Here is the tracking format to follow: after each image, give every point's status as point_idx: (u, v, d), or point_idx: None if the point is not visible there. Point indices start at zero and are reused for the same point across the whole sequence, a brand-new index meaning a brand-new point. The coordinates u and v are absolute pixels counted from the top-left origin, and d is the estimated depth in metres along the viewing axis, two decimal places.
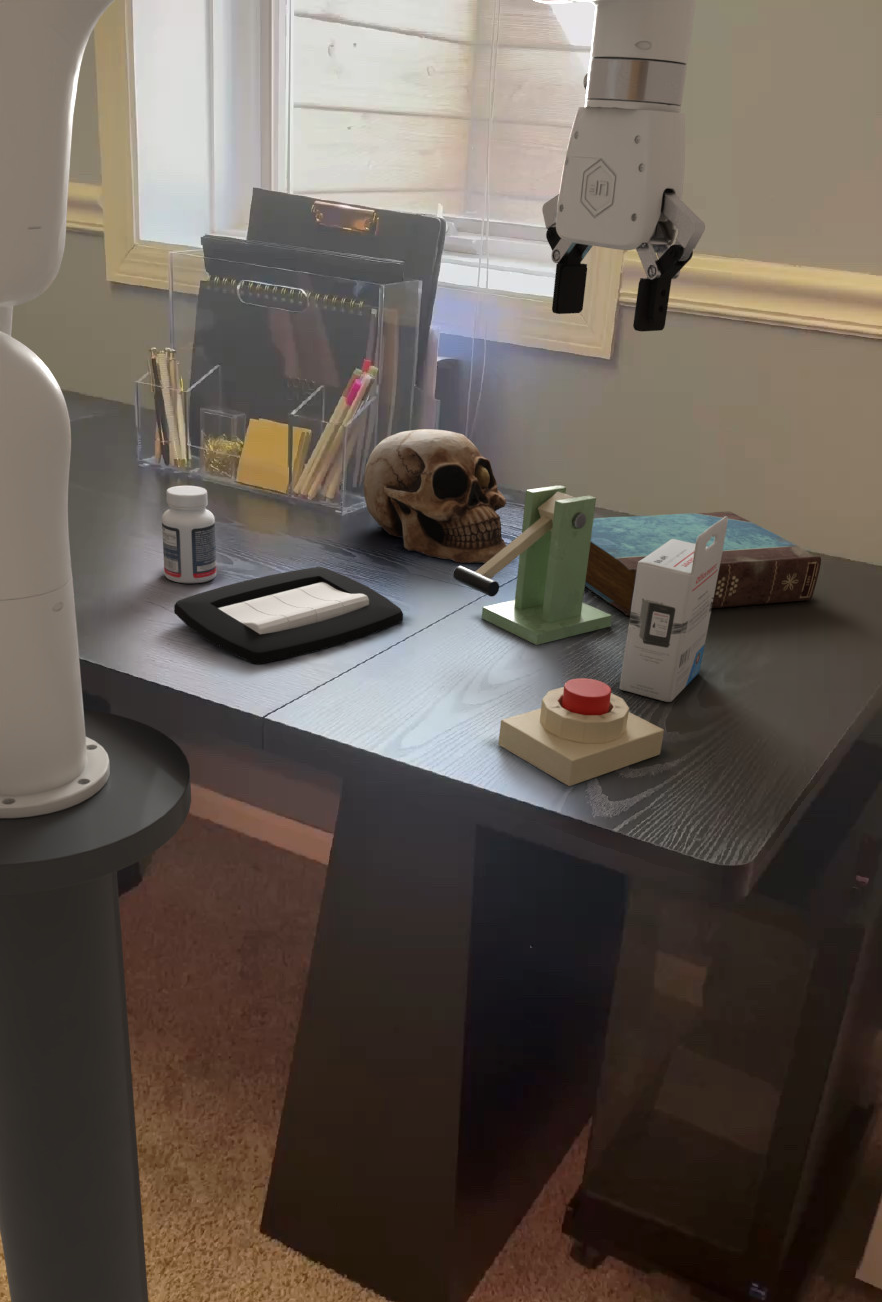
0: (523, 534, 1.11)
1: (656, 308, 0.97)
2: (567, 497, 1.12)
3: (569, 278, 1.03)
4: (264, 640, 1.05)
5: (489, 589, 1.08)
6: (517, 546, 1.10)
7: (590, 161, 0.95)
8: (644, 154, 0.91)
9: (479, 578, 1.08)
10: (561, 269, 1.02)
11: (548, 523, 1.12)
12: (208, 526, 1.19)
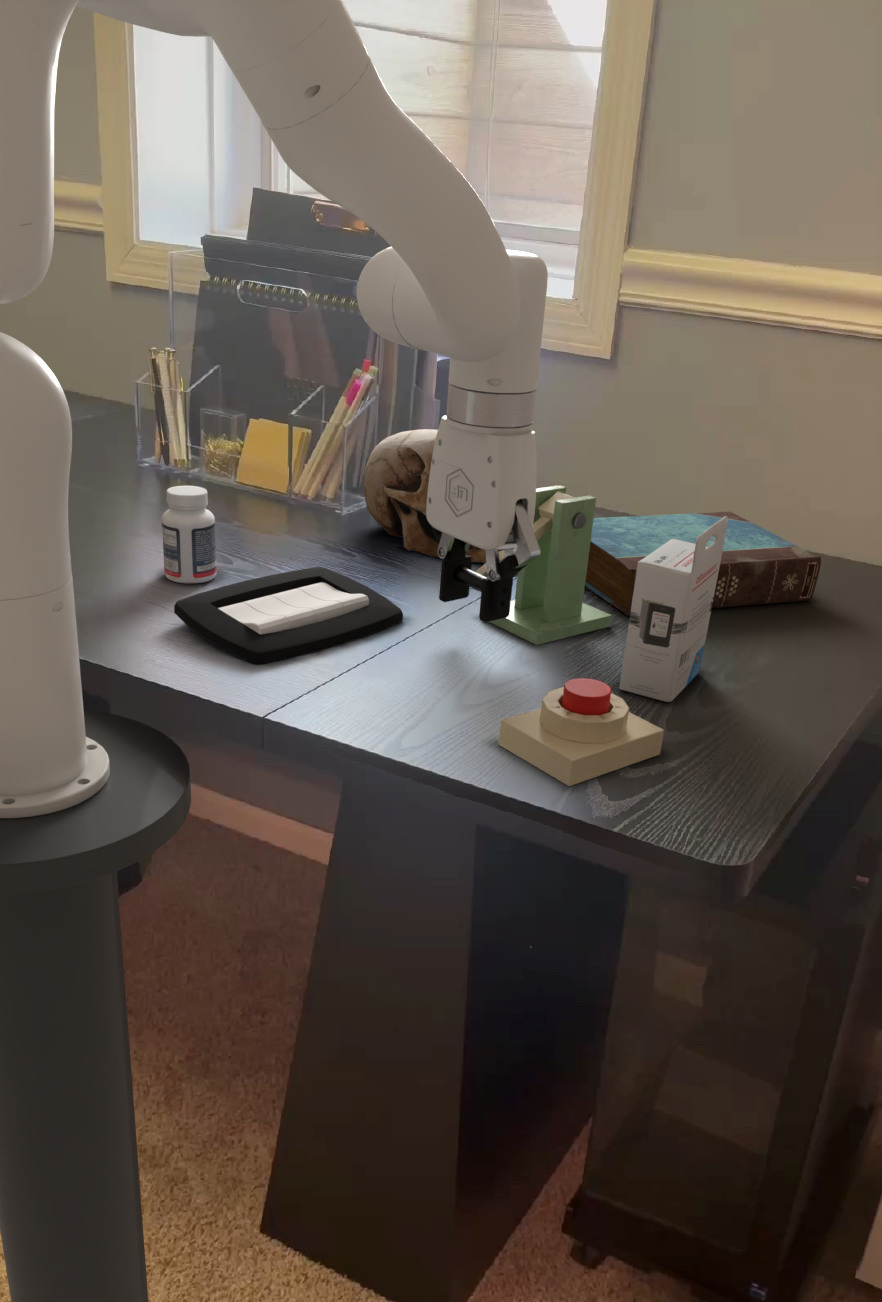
0: None
1: (498, 603, 1.07)
2: (567, 497, 1.12)
3: None
4: (264, 640, 1.05)
5: None
6: (517, 546, 1.10)
7: (452, 468, 1.04)
8: (496, 473, 1.00)
9: (479, 578, 1.08)
10: (445, 565, 1.10)
11: (548, 523, 1.12)
12: (208, 526, 1.19)
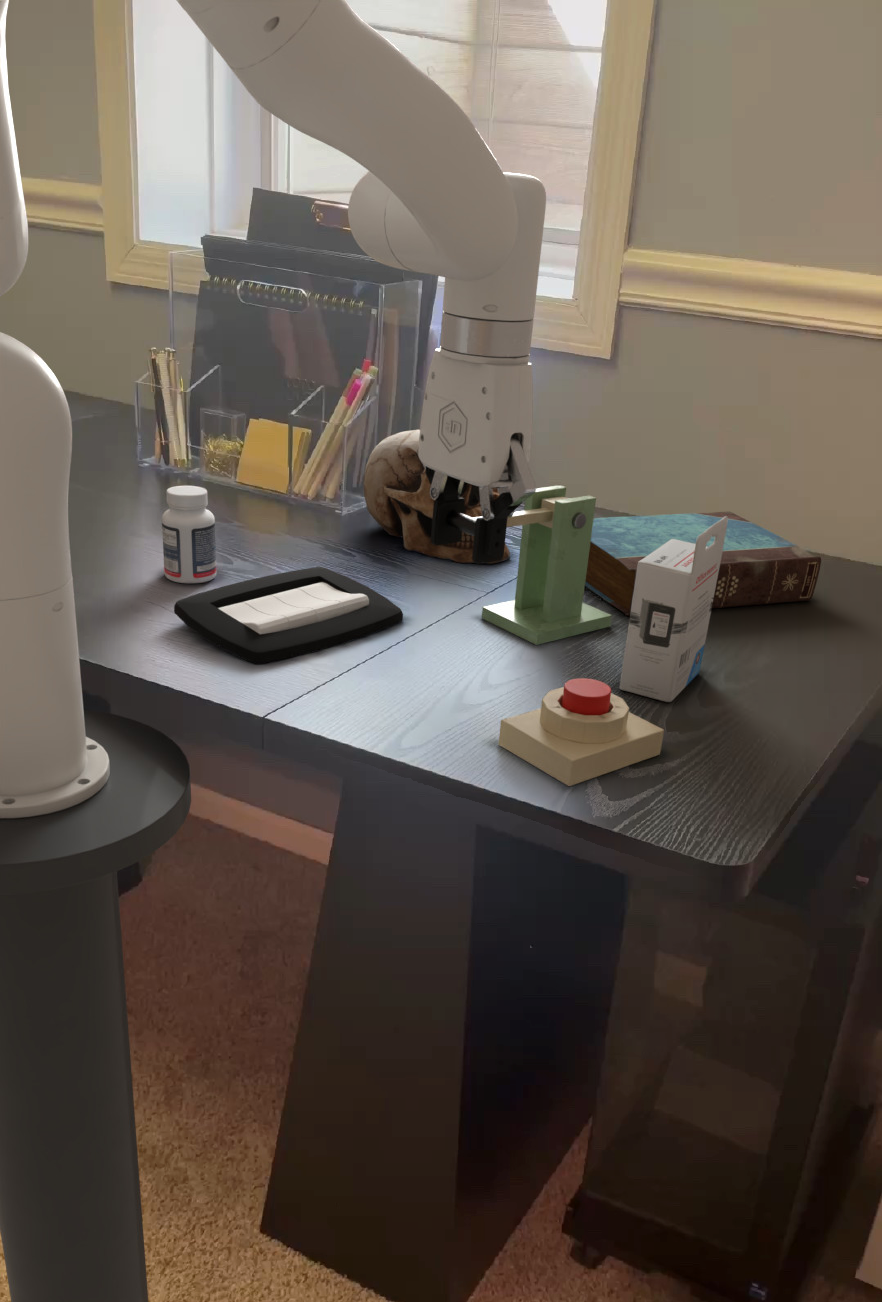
0: (523, 511, 1.10)
1: (492, 544, 1.04)
2: None
3: (446, 513, 1.07)
4: (264, 640, 1.05)
5: None
6: (516, 516, 1.09)
7: (445, 401, 1.00)
8: (491, 405, 0.97)
9: None
10: (438, 506, 1.07)
11: (548, 514, 1.11)
12: (208, 526, 1.19)
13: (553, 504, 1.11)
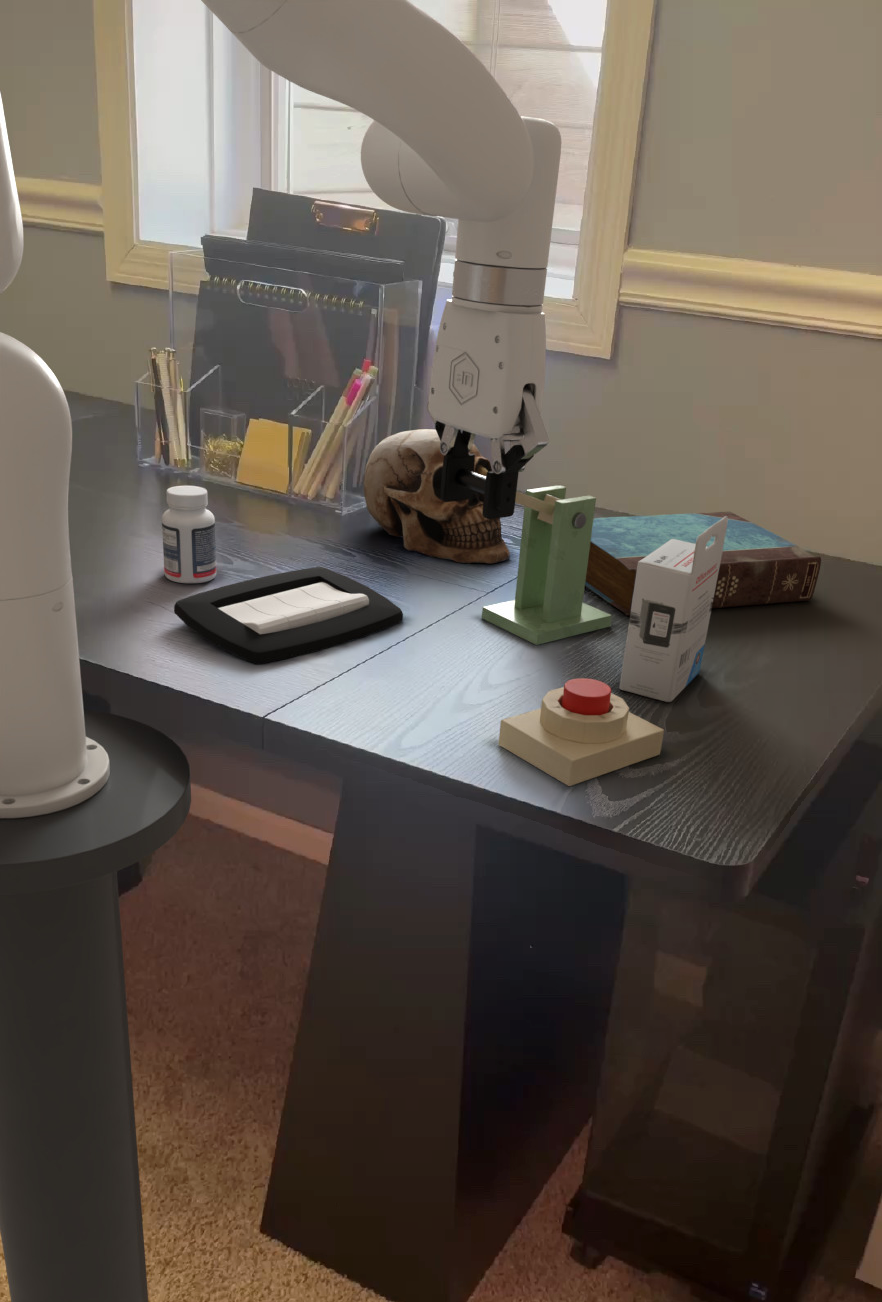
0: None
1: (503, 499, 1.02)
2: None
3: (456, 469, 1.06)
4: (264, 640, 1.05)
5: None
6: (523, 494, 1.08)
7: (456, 352, 0.99)
8: (504, 354, 0.95)
9: None
10: (448, 462, 1.05)
11: (551, 507, 1.11)
12: (208, 526, 1.19)
13: (557, 499, 1.11)
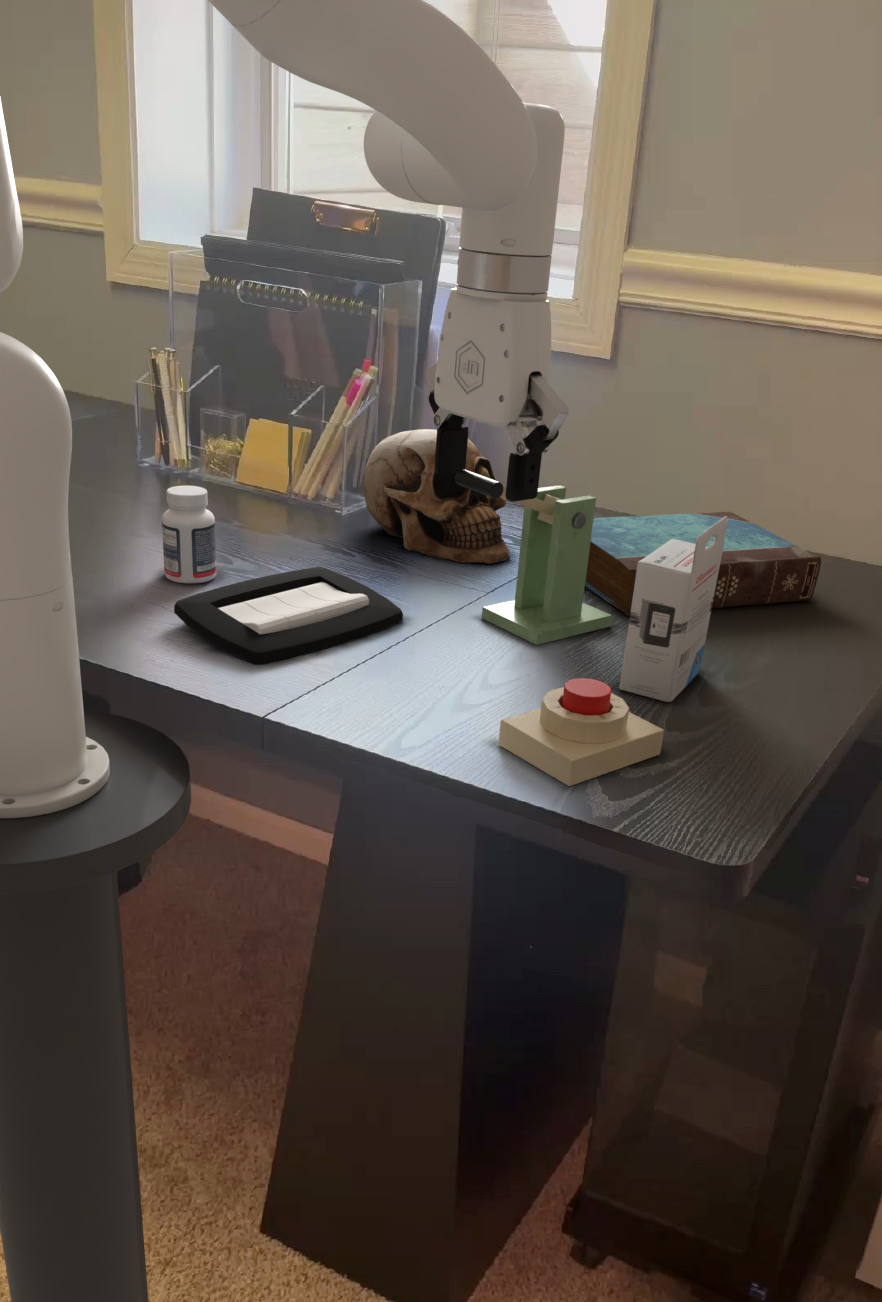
0: None
1: (526, 481, 1.00)
2: None
3: (450, 441, 1.07)
4: (264, 640, 1.05)
5: (495, 486, 1.03)
6: None
7: (462, 341, 0.99)
8: (509, 342, 0.95)
9: (487, 478, 1.04)
10: (441, 434, 1.06)
11: (551, 507, 1.11)
12: (208, 526, 1.19)
13: (557, 499, 1.11)
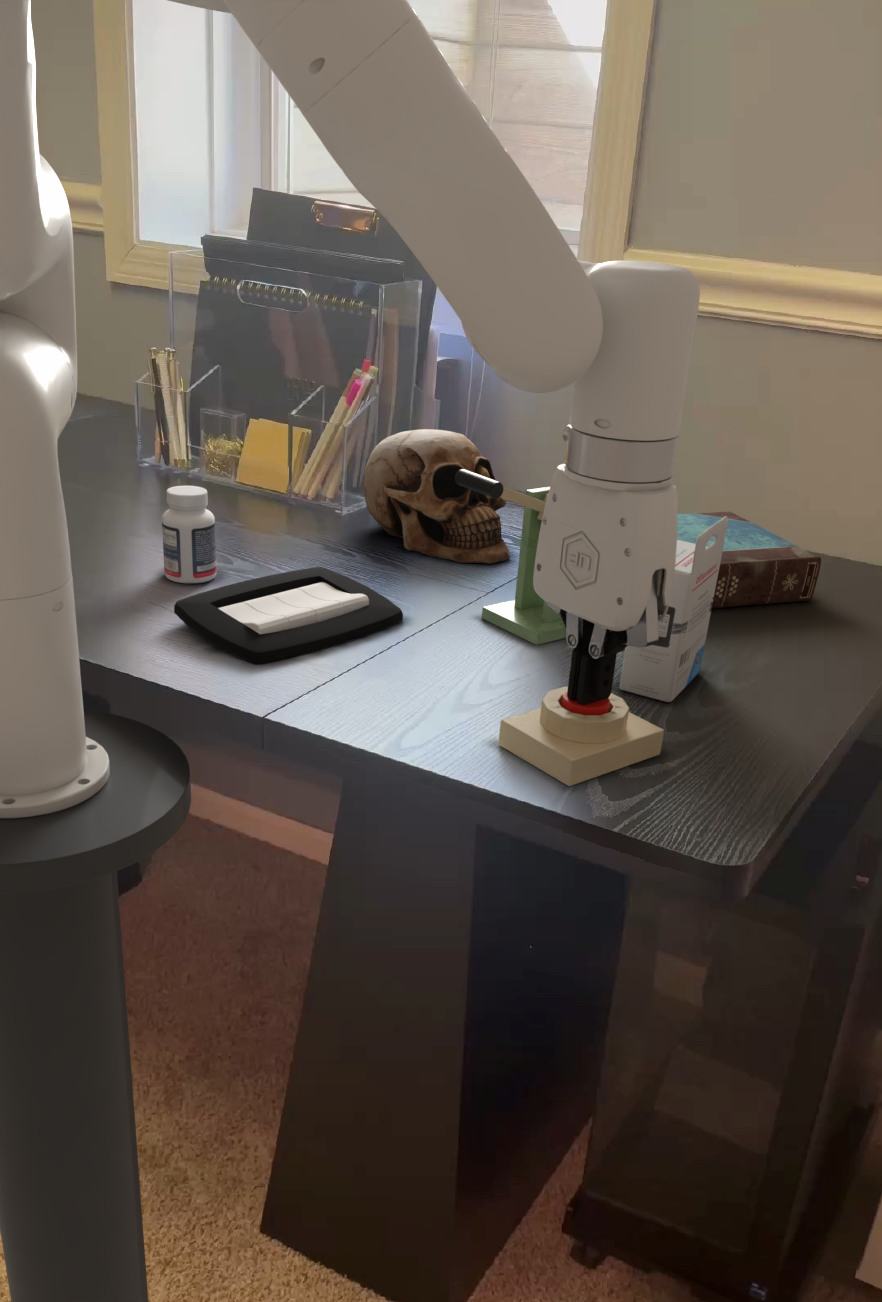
0: None
1: (600, 684, 0.89)
2: None
3: None
4: (264, 640, 1.05)
5: (495, 486, 1.03)
6: (523, 494, 1.08)
7: (570, 530, 0.84)
8: (631, 539, 0.80)
9: (487, 478, 1.04)
10: (577, 657, 0.89)
11: None
12: (208, 526, 1.19)
13: None
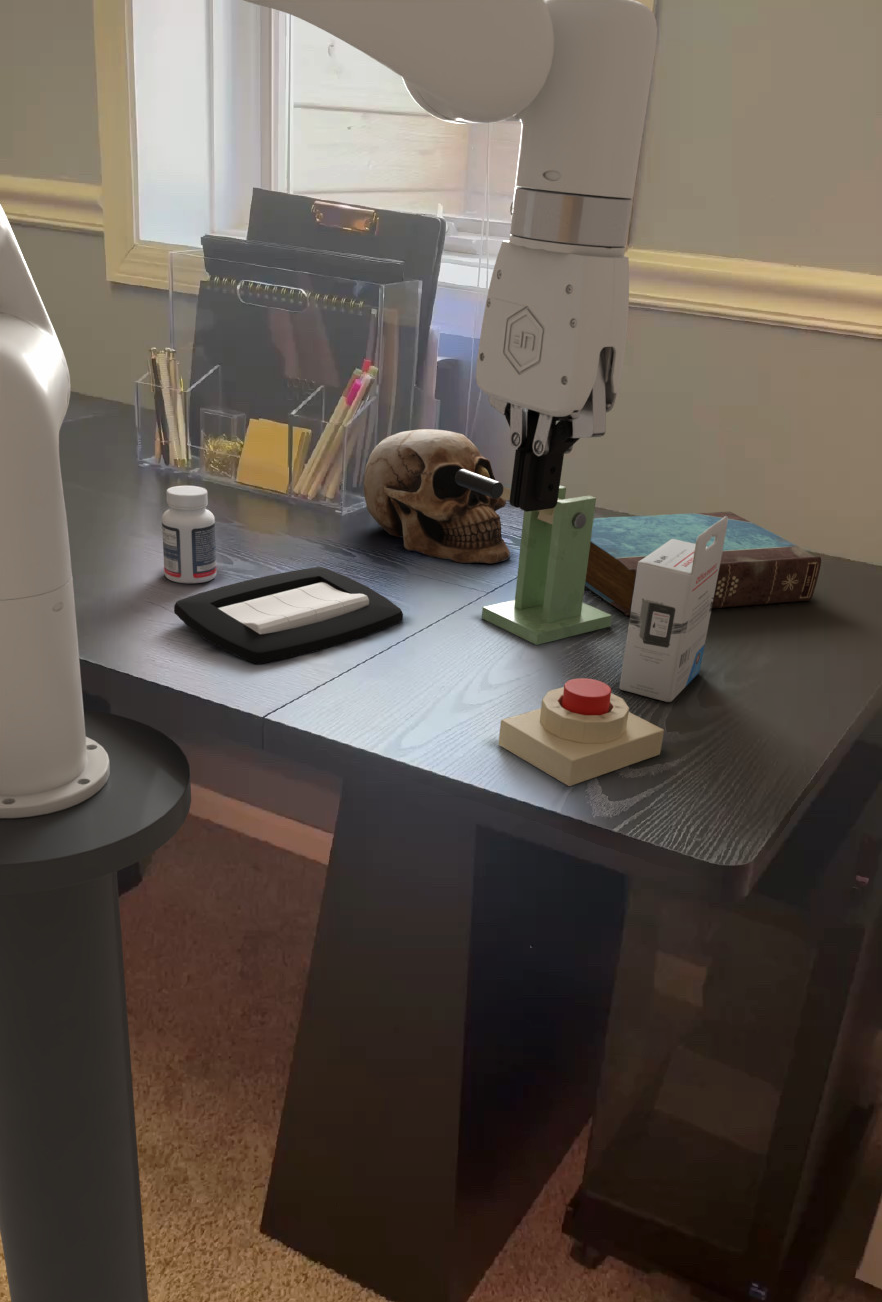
0: None
1: (544, 487, 0.83)
2: None
3: None
4: (264, 640, 1.05)
5: (495, 486, 1.03)
6: None
7: (514, 307, 0.78)
8: (577, 308, 0.74)
9: (487, 478, 1.04)
10: (521, 457, 0.83)
11: None
12: (208, 526, 1.19)
13: None
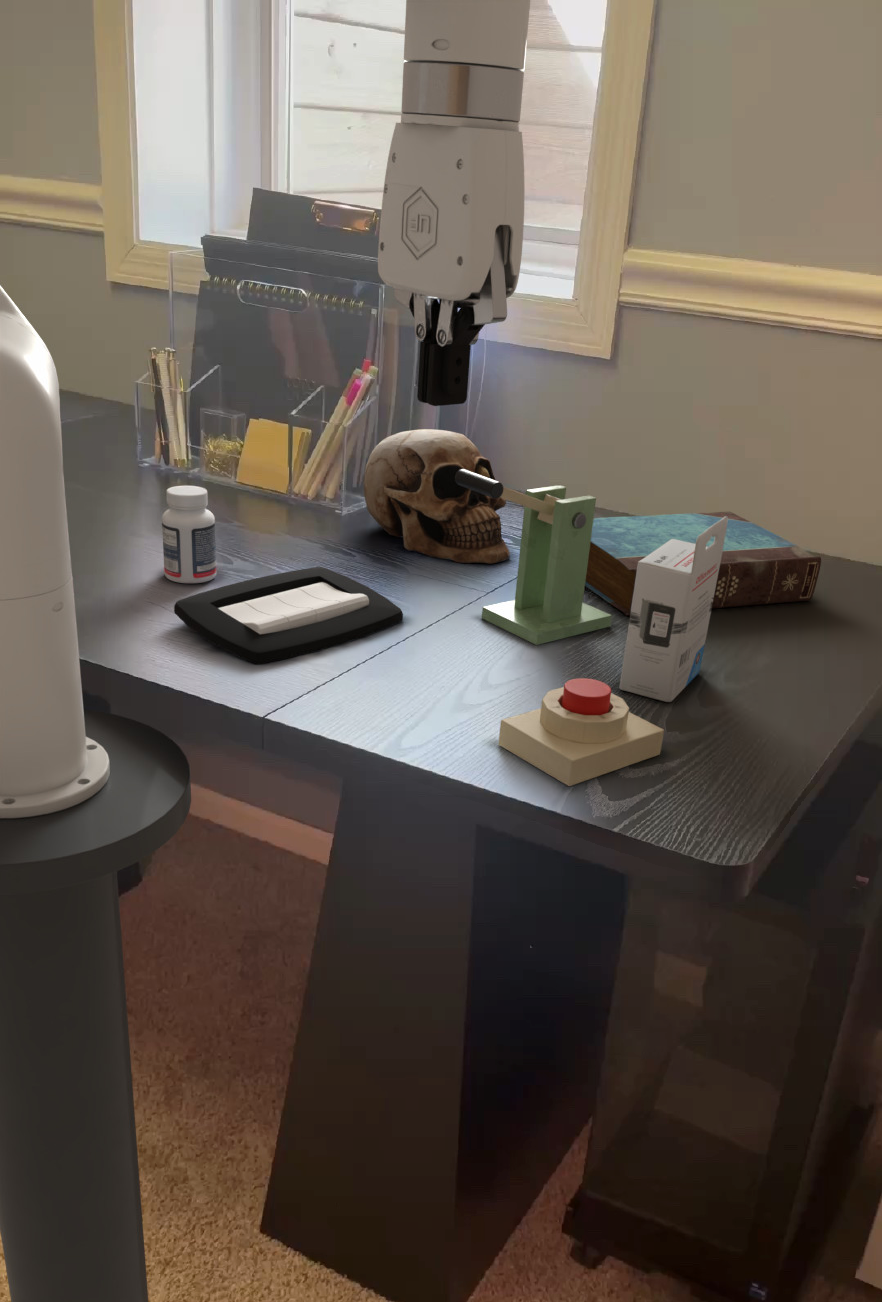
0: None
1: (451, 379, 0.81)
2: None
3: None
4: (264, 640, 1.05)
5: (495, 486, 1.03)
6: (523, 494, 1.08)
7: (409, 190, 0.77)
8: (469, 183, 0.73)
9: (487, 478, 1.04)
10: (426, 349, 0.81)
11: (551, 507, 1.11)
12: (208, 526, 1.19)
13: (557, 499, 1.11)
